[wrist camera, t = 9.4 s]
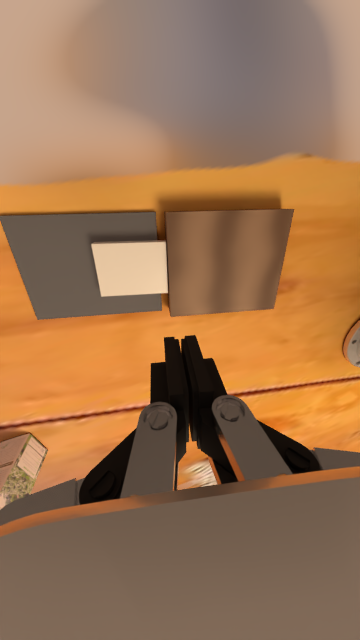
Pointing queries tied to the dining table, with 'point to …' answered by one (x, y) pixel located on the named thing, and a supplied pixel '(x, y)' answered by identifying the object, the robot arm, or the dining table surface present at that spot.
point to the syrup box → (19, 467)
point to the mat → (74, 261)
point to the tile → (131, 267)
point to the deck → (225, 259)
